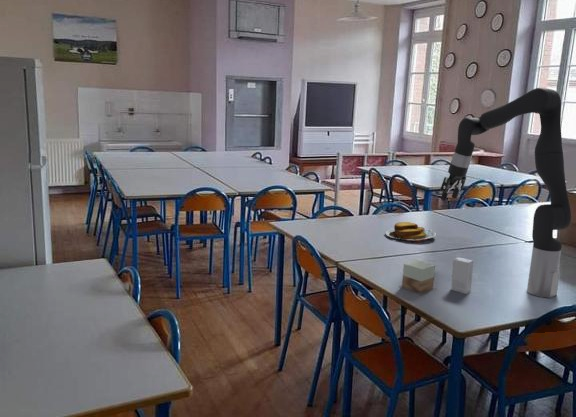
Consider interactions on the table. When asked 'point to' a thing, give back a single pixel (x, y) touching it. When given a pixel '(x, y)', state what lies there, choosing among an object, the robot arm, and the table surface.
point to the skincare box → (462, 275)
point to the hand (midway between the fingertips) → (448, 199)
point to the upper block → (419, 270)
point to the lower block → (417, 284)
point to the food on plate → (410, 232)
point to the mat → (417, 292)
